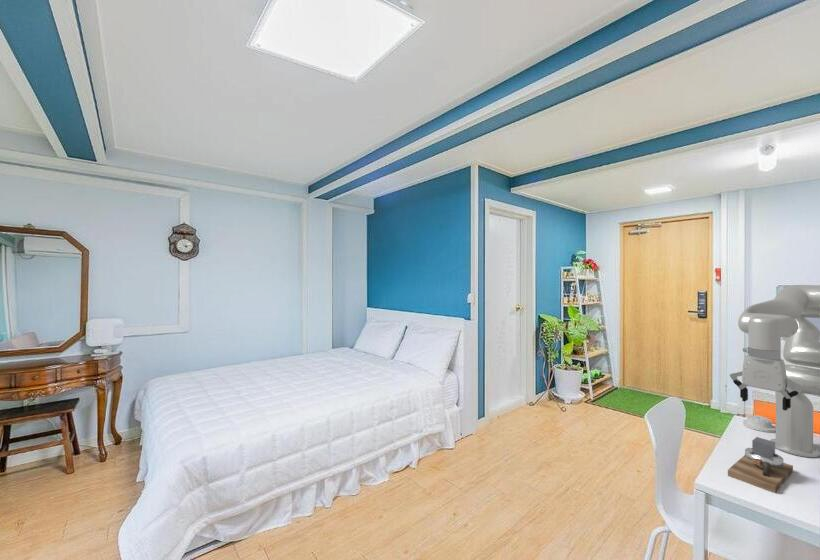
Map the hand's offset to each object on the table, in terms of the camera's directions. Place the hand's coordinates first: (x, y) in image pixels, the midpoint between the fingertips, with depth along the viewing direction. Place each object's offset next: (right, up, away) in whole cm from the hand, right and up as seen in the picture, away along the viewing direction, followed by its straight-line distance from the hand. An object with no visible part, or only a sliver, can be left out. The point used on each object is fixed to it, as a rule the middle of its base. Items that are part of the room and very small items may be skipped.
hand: (764, 404), depth 116 cm
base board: (-2, -23, 0) cm, 23 cm away
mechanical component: (+32, -22, +34) cm, 52 cm away
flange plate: (-2, -18, -1) cm, 18 cm away
